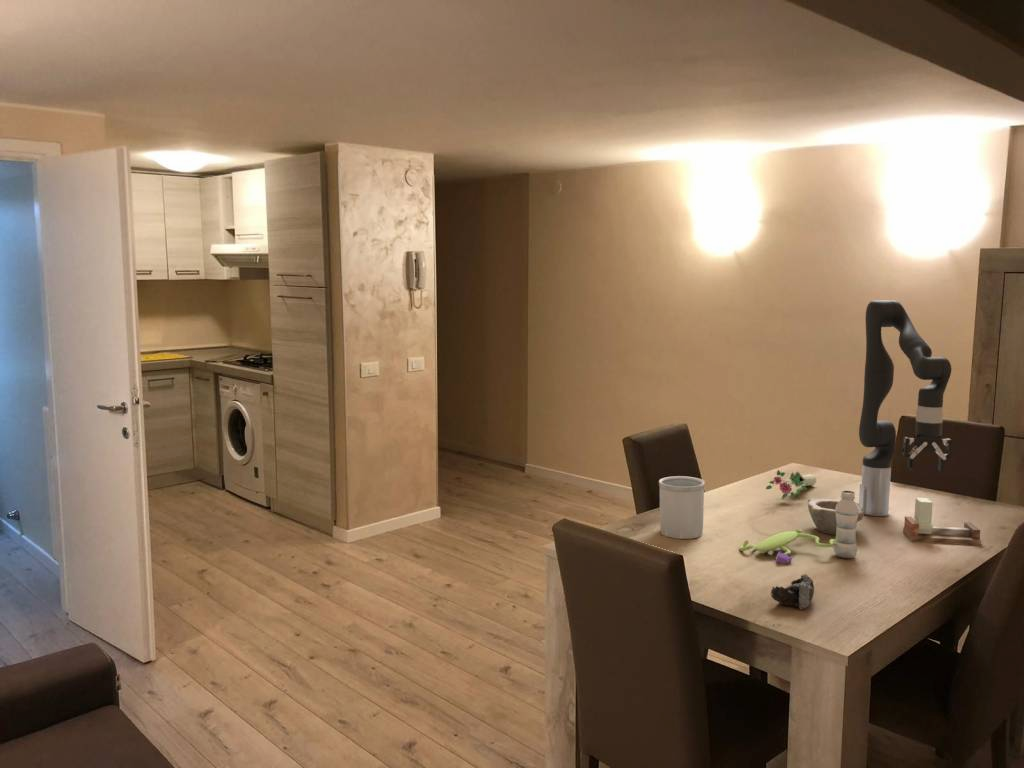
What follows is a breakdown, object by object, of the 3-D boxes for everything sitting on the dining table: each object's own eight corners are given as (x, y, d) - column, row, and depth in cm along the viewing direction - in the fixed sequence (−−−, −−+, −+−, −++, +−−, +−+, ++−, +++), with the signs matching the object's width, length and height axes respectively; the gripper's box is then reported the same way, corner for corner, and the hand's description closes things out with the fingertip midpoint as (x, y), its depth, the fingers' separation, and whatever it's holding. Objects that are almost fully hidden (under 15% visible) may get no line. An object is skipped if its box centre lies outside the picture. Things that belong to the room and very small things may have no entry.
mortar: (859, 526, 271) (860, 499, 270) (863, 541, 256) (865, 513, 254) (806, 521, 277) (807, 495, 276) (807, 536, 261) (808, 508, 260)
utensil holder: (649, 533, 265) (650, 481, 262) (673, 523, 275) (674, 473, 273) (688, 543, 255) (689, 489, 252) (712, 532, 265) (713, 480, 263)
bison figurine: (813, 597, 212) (773, 590, 216) (815, 572, 211) (775, 565, 214) (811, 615, 201) (769, 607, 205) (813, 589, 200) (771, 581, 203)
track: (911, 541, 255) (912, 524, 255) (902, 531, 265) (903, 515, 264) (980, 545, 252) (981, 528, 251) (968, 535, 261) (970, 518, 261)
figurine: (843, 557, 242) (844, 539, 242) (771, 568, 233) (772, 550, 232) (801, 538, 260) (802, 522, 259) (732, 549, 250) (733, 531, 249)
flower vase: (815, 506, 322) (791, 507, 293) (787, 492, 329) (760, 492, 300) (828, 479, 320) (804, 477, 292) (799, 466, 327) (773, 463, 299)
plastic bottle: (846, 562, 237) (850, 496, 234) (828, 555, 243) (831, 490, 240) (861, 558, 240) (865, 493, 237) (843, 551, 246) (846, 488, 243)
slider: (918, 534, 256) (920, 502, 255) (912, 527, 263) (914, 496, 262) (932, 534, 255) (934, 503, 254) (925, 528, 262) (927, 497, 261)
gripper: (908, 421, 252) (905, 472, 254) (957, 422, 249) (954, 474, 252) (901, 417, 259) (898, 466, 262) (949, 418, 257) (946, 468, 259)
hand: (925, 470), depth 257 cm, fingers open, 8 cm apart
